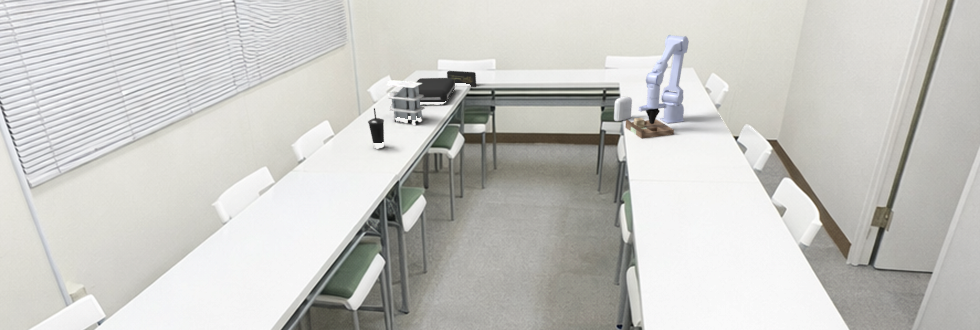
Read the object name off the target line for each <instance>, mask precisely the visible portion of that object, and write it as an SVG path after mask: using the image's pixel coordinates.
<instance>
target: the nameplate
mask: <svg viewBox="0 0 980 330" xmlns="http://www.w3.org/2000/svg"><path fill="white" fill-rule="evenodd" d="M446 78H452V79H453V80H454V82H455V83H466V84H470V85H471V87H470V88H475V87H476V86H477V75H476V72H475V71H463V70H462V71H460V70H448V71H447V72H446Z"/></svg>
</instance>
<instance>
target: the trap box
mask: <svg viewBox="0 0 980 330" xmlns="http://www.w3.org/2000/svg"><path fill="white" fill-rule="evenodd" d="M625 129H627V130H628V131H630V132H632V133H633V134H634V135H636V136H637V137H638V138H640V139H648V138H656V137H665V136H673V135H675V129H673V128H671V127H670V126H668V125H667V124H665V123H663V122H661V121H660V120H658V119H657V118H656V119H655V122H654V124H650V123H649V119H648V120H646V119H645V121H644V128H639V127H638V126H636V125H635V124H634V121H630V120H629V119H625Z"/></svg>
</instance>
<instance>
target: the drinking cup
mask: <svg viewBox="0 0 980 330" xmlns="http://www.w3.org/2000/svg"><path fill="white" fill-rule="evenodd" d="M373 113H374V118H371V119H369V120H367V123H368V127H369V131H370V135H371V140H372V144H373V143H382V142H384V143H385V135H384V134H385V130H384V129H385V128H384V126H385V125H384V122H385V120H384V119H383V118H379V117H377V113H376V108H375V107H374V108H373Z"/></svg>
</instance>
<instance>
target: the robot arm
mask: <svg viewBox="0 0 980 330" xmlns="http://www.w3.org/2000/svg"><path fill="white" fill-rule="evenodd" d="M664 47H665V48H664V50H663V52H662V55H661V58H660V59H659V60H658V59H657V61H656V62H655V64H654V65H653V68H652V70H651V72H648V73H647V74H646V79H645V83H646V87H647V95H646V96H647V97H646V104H644V105H642V106H638V111H639V112H644V111H645V112H646V115H647V118H648V120H649V123H650V124H654V122H655V119H657V116H658V115H659V113H660V109H663V117H661V118H660V117H659V119H660V120H661V121H663V122H664V123H666V124H674V123H683V122H685V121H684V115H685V114H684V113H685V108H684V104H683V101H684V90H683V88H682V87H681V86H680V81H681V74H682V69H683V64H684V63H683V62H684V57H685V54H686V53H687V52H688V48H689V38H688V37H687V35H685V36H684V35H683V36H682V35H672V34H669V35H667V36H666V37H665V41H664ZM671 57H672V62H671V69H670V74H669V75H670V76H669V79H668V80H669V81H668V85H667V86H665V87H664V88H663V90H662V93H660V92H661V91H660V90H661V85H662V83H663V81H664V78H665V72H666V70H667V69H668V66H669V64H668V62H669V61H670V59H671ZM660 95H661V97H660ZM660 100H661V102H662V103H660Z"/></svg>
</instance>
